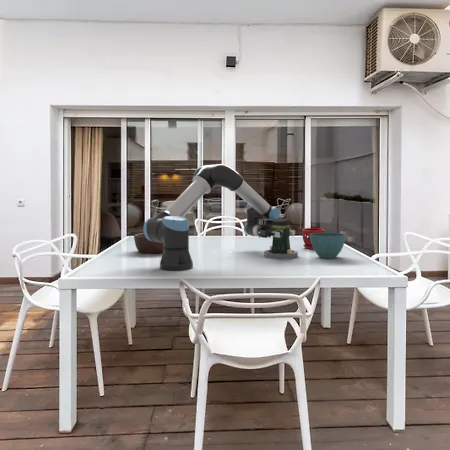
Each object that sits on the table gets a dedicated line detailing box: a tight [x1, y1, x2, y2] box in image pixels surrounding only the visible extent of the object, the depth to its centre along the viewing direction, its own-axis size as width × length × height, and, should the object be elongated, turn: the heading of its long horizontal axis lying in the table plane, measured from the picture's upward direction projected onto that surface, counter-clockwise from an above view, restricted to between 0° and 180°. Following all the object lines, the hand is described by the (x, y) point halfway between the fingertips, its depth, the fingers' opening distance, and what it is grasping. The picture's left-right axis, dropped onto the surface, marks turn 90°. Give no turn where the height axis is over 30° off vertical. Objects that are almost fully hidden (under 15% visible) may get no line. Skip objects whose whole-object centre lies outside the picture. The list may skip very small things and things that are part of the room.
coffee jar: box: [271, 218, 291, 254], centre depth 214 cm, size 10×8×19 cm
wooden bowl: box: [133, 232, 163, 255], centre depth 236 cm, size 25×25×10 cm
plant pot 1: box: [301, 227, 325, 250], centre depth 244 cm, size 13×13×12 cm
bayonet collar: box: [263, 245, 299, 260], centre depth 215 cm, size 18×18×4 cm
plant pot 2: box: [310, 232, 347, 259], centre depth 211 cm, size 18×18×12 cm
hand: (286, 234), depth 210 cm, fingers closed on coffee jar, 9 cm apart
